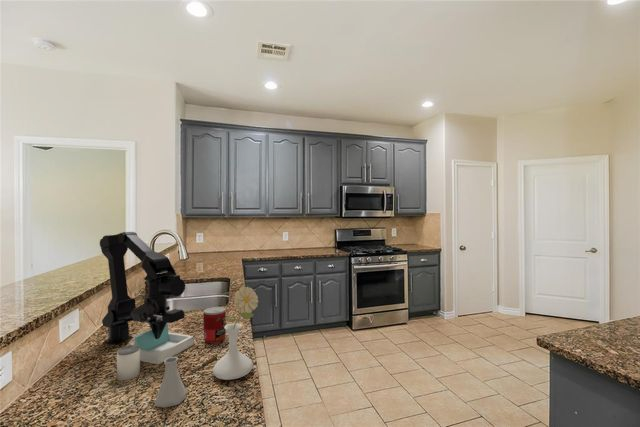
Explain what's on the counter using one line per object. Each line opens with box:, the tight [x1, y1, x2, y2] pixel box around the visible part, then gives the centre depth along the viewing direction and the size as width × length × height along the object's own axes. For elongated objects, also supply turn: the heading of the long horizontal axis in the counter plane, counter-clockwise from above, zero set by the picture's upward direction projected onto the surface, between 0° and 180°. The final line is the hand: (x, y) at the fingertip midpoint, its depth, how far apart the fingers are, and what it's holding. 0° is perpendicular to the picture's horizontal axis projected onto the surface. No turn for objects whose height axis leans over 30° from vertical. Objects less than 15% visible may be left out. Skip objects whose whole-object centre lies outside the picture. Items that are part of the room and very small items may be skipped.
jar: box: [116, 344, 141, 382], centre depth 85 cm, size 6×6×8 cm
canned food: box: [203, 306, 227, 344], centre depth 110 cm, size 8×8×11 cm
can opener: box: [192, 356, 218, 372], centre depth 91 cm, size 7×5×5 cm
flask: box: [154, 356, 187, 409], centre depth 74 cm, size 7×7×10 cm
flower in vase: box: [212, 286, 259, 381], centre depth 86 cm, size 13×11×25 cm
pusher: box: [134, 323, 169, 351], centre depth 102 cm, size 1×12×6 cm, turn 161°
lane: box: [133, 331, 194, 365], centre depth 101 cm, size 17×15×3 cm
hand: (157, 338), depth 101 cm, fingers closed
